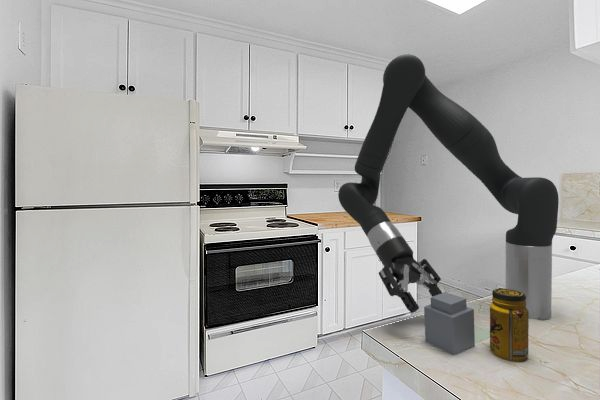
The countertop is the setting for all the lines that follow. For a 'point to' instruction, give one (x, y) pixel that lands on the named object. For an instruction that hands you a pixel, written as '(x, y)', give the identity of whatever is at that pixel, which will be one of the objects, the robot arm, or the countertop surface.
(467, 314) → the grey stepped block
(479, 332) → the mat
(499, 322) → the condiment
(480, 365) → the countertop surface
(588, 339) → the countertop surface
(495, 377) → the countertop surface
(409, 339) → the countertop surface
